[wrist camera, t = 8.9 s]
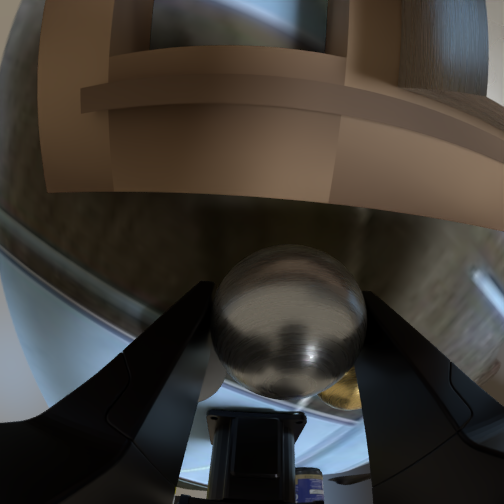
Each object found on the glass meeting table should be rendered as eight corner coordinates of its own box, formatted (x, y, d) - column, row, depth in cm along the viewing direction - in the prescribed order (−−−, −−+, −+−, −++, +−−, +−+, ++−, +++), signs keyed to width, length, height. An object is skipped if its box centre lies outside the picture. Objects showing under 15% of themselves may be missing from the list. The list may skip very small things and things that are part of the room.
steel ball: (331, 324, 10) (351, 422, 6) (220, 318, 10) (203, 420, 6) (361, 224, 8) (417, 323, 4) (221, 212, 8) (187, 313, 4)
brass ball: (365, 362, 13) (379, 419, 10) (301, 363, 13) (306, 425, 10) (389, 314, 12) (414, 377, 9) (316, 313, 12) (327, 383, 9)
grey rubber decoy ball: (230, 359, 13) (223, 421, 10) (162, 351, 13) (144, 409, 10) (231, 308, 12) (221, 379, 9) (150, 300, 12) (122, 364, 9)
